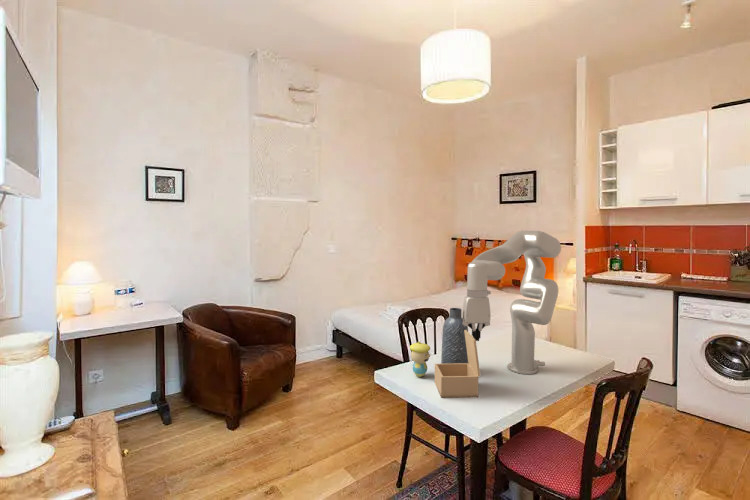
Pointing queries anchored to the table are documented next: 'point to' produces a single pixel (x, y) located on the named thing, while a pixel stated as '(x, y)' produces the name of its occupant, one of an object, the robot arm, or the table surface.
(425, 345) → the toy
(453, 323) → the vase
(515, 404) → the table surface
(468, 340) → the lid
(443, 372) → the box
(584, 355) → the table surface
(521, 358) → the robot arm
